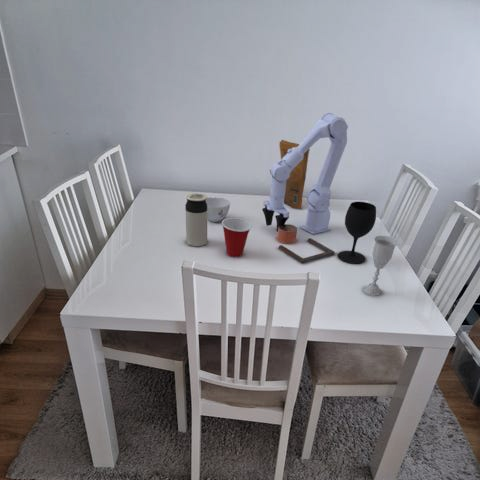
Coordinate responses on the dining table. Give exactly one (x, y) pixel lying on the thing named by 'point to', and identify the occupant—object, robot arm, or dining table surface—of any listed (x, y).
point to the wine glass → (358, 228)
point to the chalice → (380, 259)
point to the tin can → (287, 233)
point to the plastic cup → (235, 235)
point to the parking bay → (304, 260)
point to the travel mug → (196, 219)
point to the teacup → (217, 208)
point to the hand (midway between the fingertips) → (273, 228)
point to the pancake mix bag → (294, 177)
